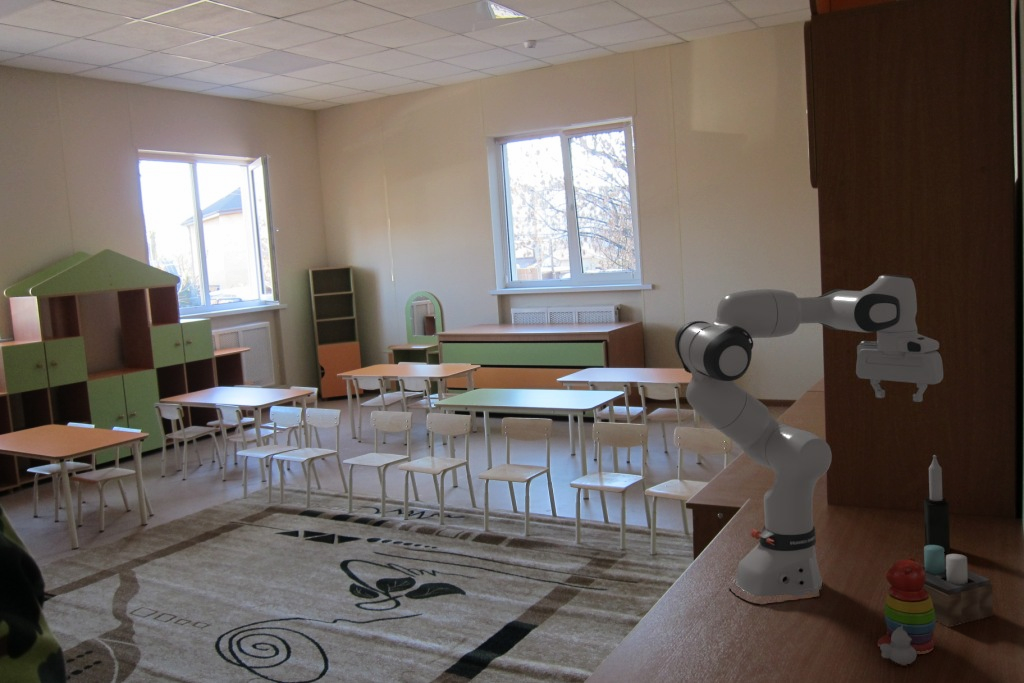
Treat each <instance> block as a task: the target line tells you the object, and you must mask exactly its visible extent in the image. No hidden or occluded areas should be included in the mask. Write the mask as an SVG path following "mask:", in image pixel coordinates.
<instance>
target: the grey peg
mask: <svg viewBox="0 0 1024 683" xmlns="http://www.w3.org/2000/svg"><path fill="white" fill-rule="evenodd" d="M945 561H946V575H947V582H949V583H952V584H954V585H956V586H959V585H963V584H967V583H968V576H967V570H968V557H967V556H966V555H963V554H960V553H959V554H958V553H949V554H946V555H945Z"/></svg>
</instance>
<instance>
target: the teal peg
mask: <svg viewBox="0 0 1024 683" xmlns="http://www.w3.org/2000/svg"><path fill="white" fill-rule="evenodd" d="M923 555H924V556H923V557H924V558H923V560H924V565H925V572H927V573H929V574H931V575H934V576H936V575H940V574H944V573H945V561H946V557H945V553H944V548H943V547H941V546H938V545H927V546H923Z"/></svg>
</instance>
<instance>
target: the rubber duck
mask: <svg viewBox="0 0 1024 683" xmlns="http://www.w3.org/2000/svg"><path fill="white" fill-rule="evenodd" d="M911 640H912V639H911V638H910V637H909V636H908V634H907V632H906V631H905V630H903V626H901V627H898V628H897V629H896V630H895V631H894V632H893V633H892V636H891V641H892V642H891V643H890V645H889V644H881V645H880V648H879V650H881V653H880V655H881V657H882V658H883V659H890V660H891V661H892V660H893V661H895V662H897V663H902V664H906V663H910V662H913V661H914V662H915V660H916V659H917V656H918V655H917V652H916V650H915V649H914V648H913V647H912V646H911V645H910V641H911ZM893 661H892V662H893ZM914 662H913V663H914Z"/></svg>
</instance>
